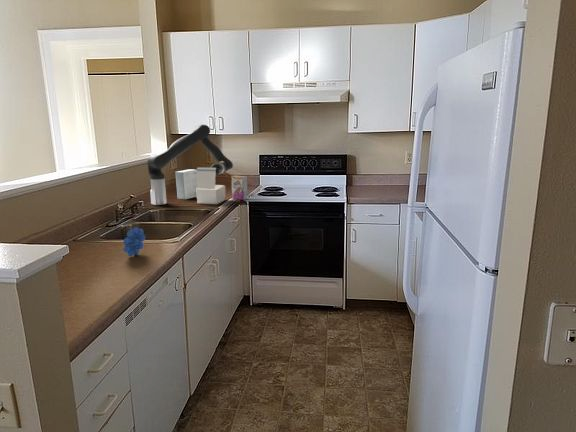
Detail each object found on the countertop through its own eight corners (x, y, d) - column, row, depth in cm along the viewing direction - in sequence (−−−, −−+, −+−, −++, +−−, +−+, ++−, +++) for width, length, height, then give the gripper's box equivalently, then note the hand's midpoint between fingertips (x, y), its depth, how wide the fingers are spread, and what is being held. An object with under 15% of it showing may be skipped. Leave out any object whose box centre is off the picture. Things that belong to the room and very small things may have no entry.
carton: (217, 204, 283) (217, 189, 281) (196, 203, 286) (195, 188, 284) (226, 199, 299) (225, 185, 297) (206, 199, 302) (205, 184, 300)
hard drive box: (192, 195, 317) (190, 169, 312) (199, 196, 313) (198, 169, 309) (176, 198, 304) (175, 171, 299) (184, 199, 300) (183, 172, 296)
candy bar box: (231, 198, 303) (230, 176, 299) (236, 197, 307) (235, 175, 304) (243, 200, 297) (242, 177, 293) (248, 199, 301) (247, 176, 298)
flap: (214, 188, 280) (215, 167, 279) (196, 188, 283) (197, 167, 282) (215, 188, 281) (215, 167, 280) (197, 188, 283) (197, 167, 283)
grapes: (138, 249, 185) (136, 223, 182) (150, 251, 182) (147, 225, 179) (117, 257, 175) (114, 229, 172) (129, 259, 172) (126, 231, 169)
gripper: (208, 163, 302) (199, 166, 285) (226, 163, 299) (217, 166, 282) (209, 173, 303) (199, 177, 287) (226, 174, 301) (217, 177, 284)
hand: (208, 171), depth 285 cm, fingers closed
